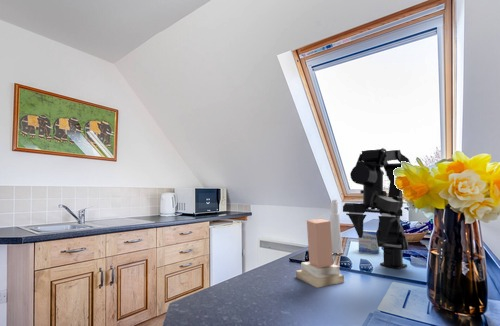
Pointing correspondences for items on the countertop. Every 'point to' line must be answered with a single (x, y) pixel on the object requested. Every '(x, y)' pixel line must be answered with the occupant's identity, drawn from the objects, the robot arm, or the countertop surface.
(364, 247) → the medicine box
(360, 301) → the countertop surface
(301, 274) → the tower base slab
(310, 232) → the pillar
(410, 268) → the countertop surface
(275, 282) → the countertop surface
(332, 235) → the cosmetic bottle
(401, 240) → the robot arm
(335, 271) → the tower top slab
